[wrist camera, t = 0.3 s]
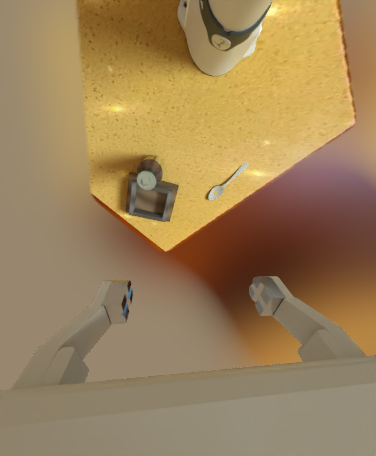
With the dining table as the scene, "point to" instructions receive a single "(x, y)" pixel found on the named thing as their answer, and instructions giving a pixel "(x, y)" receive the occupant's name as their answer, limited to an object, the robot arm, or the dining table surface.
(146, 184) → the sauce bottle
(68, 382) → the robot arm
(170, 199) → the box
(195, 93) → the dining table surface
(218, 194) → the spoon
